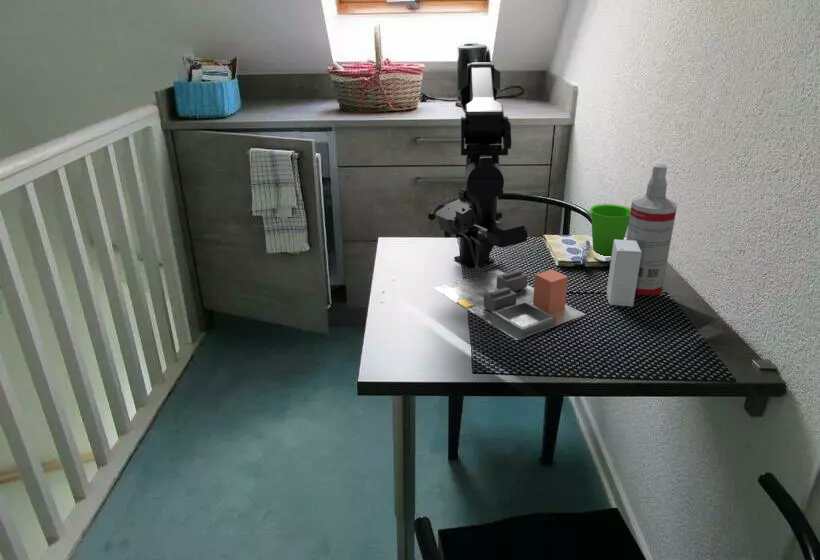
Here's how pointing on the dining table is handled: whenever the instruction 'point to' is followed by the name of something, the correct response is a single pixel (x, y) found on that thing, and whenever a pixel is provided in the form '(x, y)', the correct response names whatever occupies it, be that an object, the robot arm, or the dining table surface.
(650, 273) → the spray bottle
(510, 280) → the toggle
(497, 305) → the toggle
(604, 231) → the cup
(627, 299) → the skincare box
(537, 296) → the orange-red rectangular block
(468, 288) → the panel
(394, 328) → the dining table surface
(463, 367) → the dining table surface
